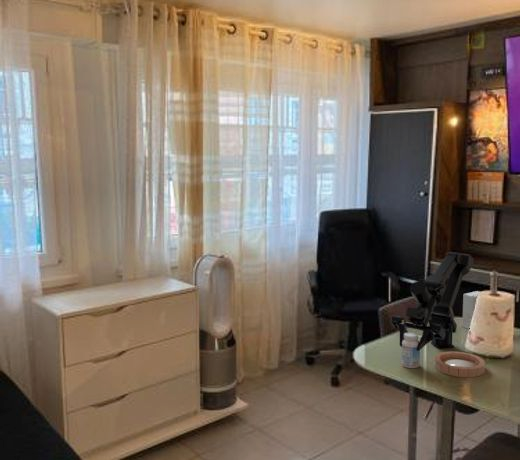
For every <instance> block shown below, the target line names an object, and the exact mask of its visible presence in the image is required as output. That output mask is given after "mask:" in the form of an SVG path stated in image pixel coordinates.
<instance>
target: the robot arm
mask: <svg viewBox="0 0 520 460" xmlns="http://www.w3.org/2000/svg"><path fill="white" fill-rule="evenodd" d="M473 266H474V258H473V257H472V255H471V254H467V253H459V252H452V251H449V252H445V254H444V258H443V260H442V261H441V263H440V264H439V266H438V267H437V269H436V270H435V272H434V273H433V274H431V275H428V276H427V277H426V278H425V279H423V278H419V279H418V281H414V282H413V283H412V284H410V286H409V291H410V293H411V294H412V296H413V298H414V300H415V301H416V302H417V304H416V306H414V307H412V306H411V307H409V306H407V307H406V309H405V314H404V316H405V317H407V319H408V321H406V320H405V319H404V317H403V316H400V315H392V316H391V318H389V319H390V320H389V322H390V324H391V325H392V327H393V329H396V330H397V331H398V332H399V346H400V347H401V348H402V341H403V340H404V333H407V332H409V331H408V328H409V329H413V330H418V331H422V334H421V337H420V340H419V344H418V347H417V351H419V350H420V351H421V350H422V349H423V348H424V347H425V346H426V345H427V344H429V343H431V344H432V345H433V346H435V347H436V348H437V349H450V348H455V345H454V344H453V334H455V333H457V327H458V324H457V322H456V321H455V314H454V311H453V307H454V304H455V301H456V299H457V295H458V292H459V289H460V286H461V283H462V281H463V279H464V278H463V277H465V276H466V275H467V274H469V273H470V271H471V268H472V267H473ZM436 297H439V298H441V299H440V301H439V303H438V302H437V299H436Z"/></svg>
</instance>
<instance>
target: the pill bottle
mask: <svg viewBox="0 0 520 460" xmlns="http://www.w3.org/2000/svg"><path fill="white" fill-rule="evenodd" d="M418 339H419V334H418V333H416V332H413V331H411V332H410V331H408V332H407V333H404V340H403V341H402V347H401V365H402V366H403V367H404V368H408V369H417V368H419V367H420V364H421V361H420V360H421V354H420V353H421V349H420V350H419V351H417V347H418V344H419V342H420V340H418Z"/></svg>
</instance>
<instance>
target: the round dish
mask: <svg viewBox="0 0 520 460" xmlns="http://www.w3.org/2000/svg"><path fill="white" fill-rule="evenodd" d="M433 358H434V362H433V363H434V368H435V369H436V370H437V371H438V372H440V373H443V374H446V376H447V375H448V376H452V377H458V378H475V377H480V376H483V375H484V373H485V371H486V362H485V360H484V358H481V357H480V356H478V355H475V354H473V353H468V352H463V351H455V350H454V351H452V350H450V351H441V352H438V353H436V355H434V357H433Z"/></svg>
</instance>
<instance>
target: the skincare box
mask: <svg viewBox="0 0 520 460" xmlns="http://www.w3.org/2000/svg"><path fill="white" fill-rule="evenodd" d="M480 292H481V291H478V290H475V291H472V292H467V293H463V299H462V325H461V327H463V328H465V329H468V330H469V326H470V322H471V318H472V315H473V311H474V307H475V302H476V298H477V295H478V293H480Z"/></svg>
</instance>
